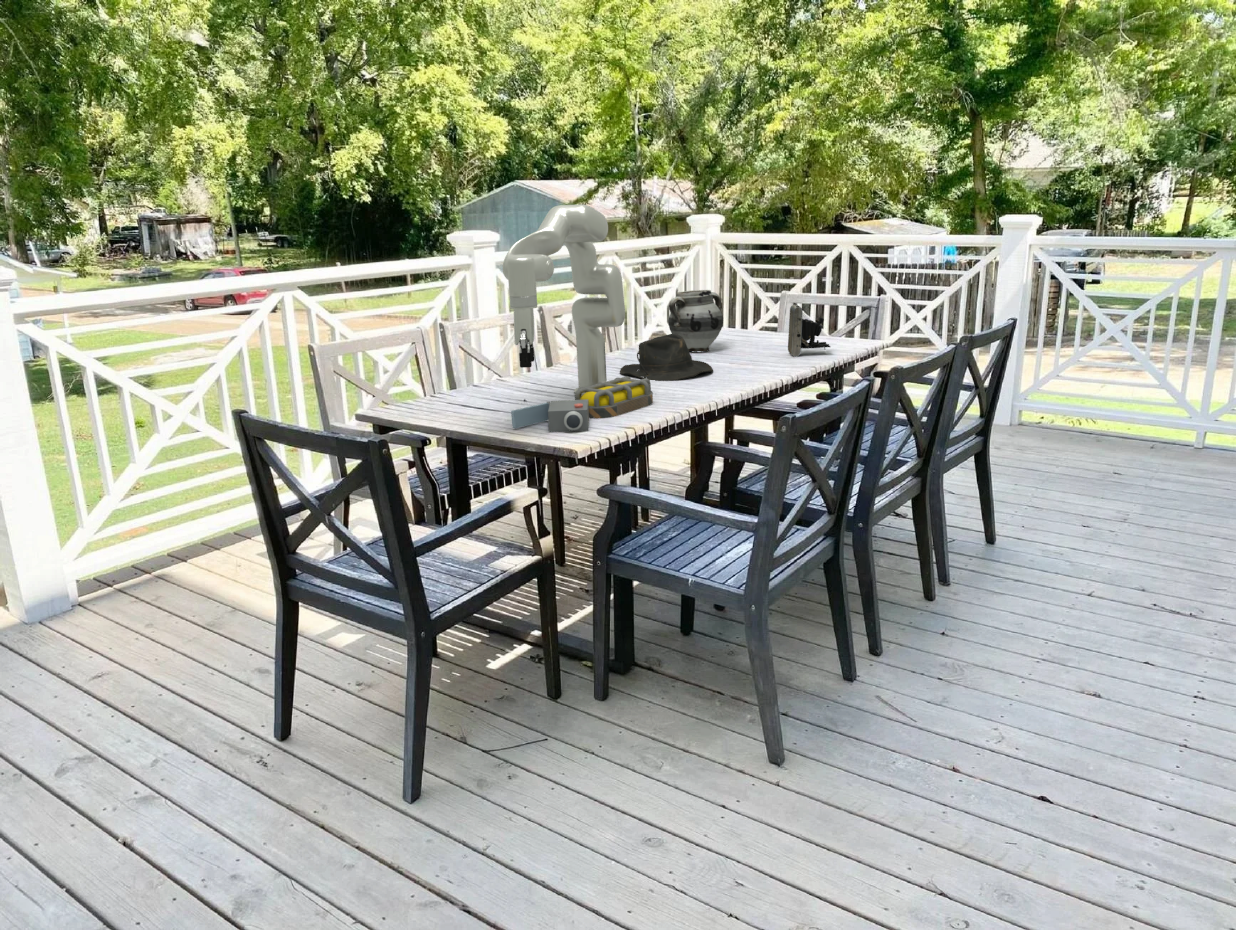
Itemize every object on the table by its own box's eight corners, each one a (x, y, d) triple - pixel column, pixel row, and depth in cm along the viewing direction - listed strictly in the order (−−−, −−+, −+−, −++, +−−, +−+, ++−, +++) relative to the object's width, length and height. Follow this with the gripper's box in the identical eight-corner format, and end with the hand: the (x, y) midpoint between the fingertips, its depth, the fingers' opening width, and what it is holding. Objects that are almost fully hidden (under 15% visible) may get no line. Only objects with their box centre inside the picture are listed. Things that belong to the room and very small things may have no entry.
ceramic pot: (689, 358, 370) (688, 295, 363) (652, 352, 388) (650, 292, 381) (740, 349, 387) (739, 288, 381) (702, 344, 405) (701, 286, 398)
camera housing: (552, 420, 274) (550, 398, 272) (589, 419, 274) (588, 396, 272) (548, 433, 259) (547, 409, 257) (588, 432, 259) (587, 408, 257)
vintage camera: (830, 357, 363) (833, 305, 358) (791, 357, 364) (793, 305, 358) (825, 353, 373) (828, 303, 368) (787, 353, 373) (789, 303, 368)
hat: (669, 385, 321) (668, 344, 317) (603, 374, 347) (602, 335, 343) (731, 372, 340) (731, 333, 336) (665, 362, 366) (664, 325, 362)
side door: (549, 419, 275) (548, 401, 273) (551, 419, 274) (550, 401, 273) (512, 428, 265) (511, 410, 264) (515, 429, 264) (513, 410, 263)
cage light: (563, 390, 279) (625, 373, 301) (564, 415, 281) (625, 397, 303) (600, 394, 270) (661, 377, 292) (601, 421, 272) (662, 402, 294)
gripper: (513, 300, 263) (516, 360, 268) (506, 306, 247) (510, 370, 251) (539, 299, 263) (542, 359, 268) (534, 305, 247) (538, 369, 251)
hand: (527, 364), depth 260 cm, fingers open, 9 cm apart
